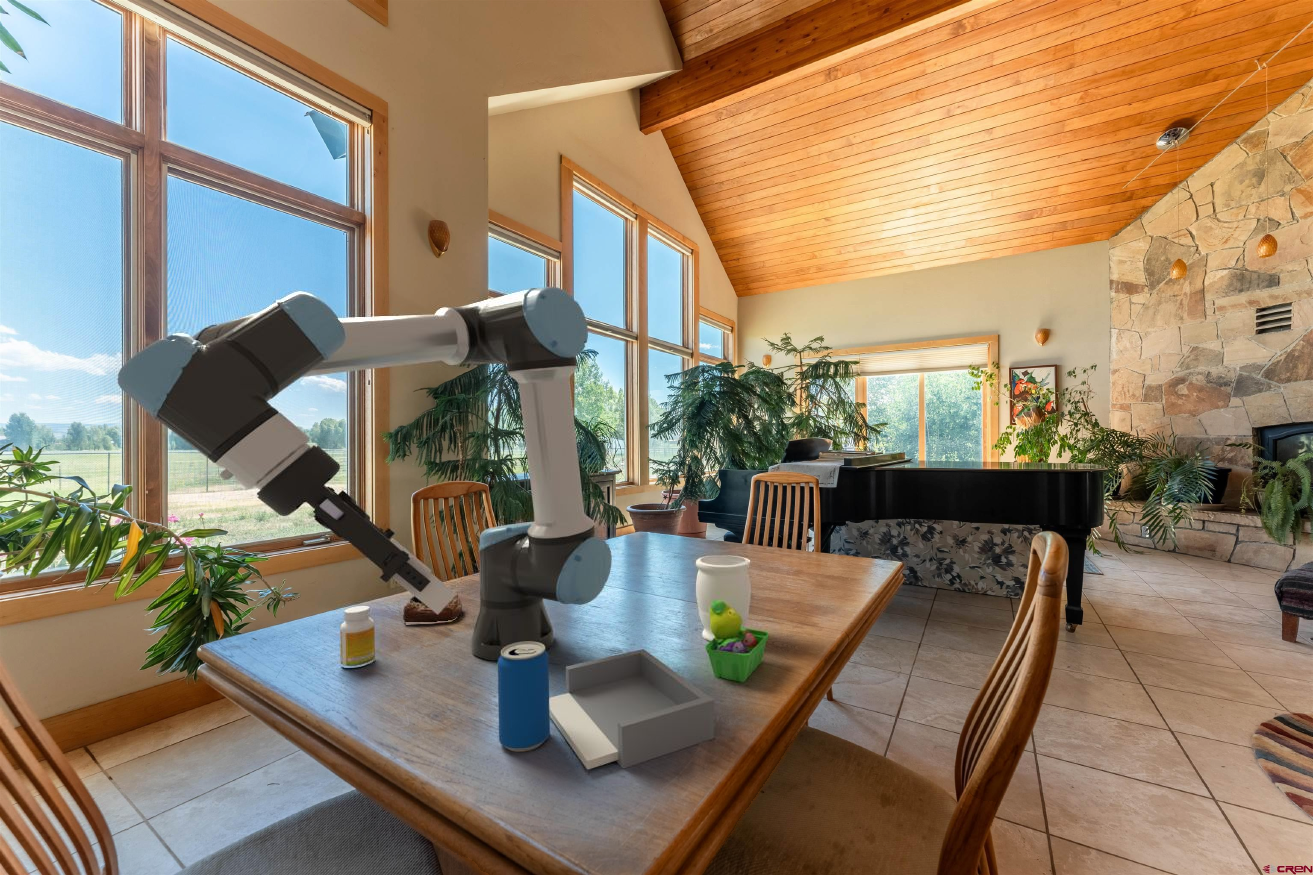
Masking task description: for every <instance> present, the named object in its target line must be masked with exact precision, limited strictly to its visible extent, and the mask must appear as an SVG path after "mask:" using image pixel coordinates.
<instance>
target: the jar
mask: <svg viewBox="0 0 1313 875" xmlns="http://www.w3.org/2000/svg"><path fill="white" fill-rule="evenodd" d="M695 566H696V567H697V568H698V572H697V574H696V581H695V582H696V584H695V595H696V596H695V597H696V602H697V607H698V614H699V618H700V620H701V623H702V625H703V627H704V629H703V630H702V632H701V635H702V638H704V639H705V640H707V641H709V642H710V641H712V640H713V639H714V638H715V636H714V635H713V633H712V631H711V628H710V613H709V611H710V608H711V605H712V603H713V601H719V600H721V601H723V602H725V603H726V604H727V605H729V606H730V607H731V608H732V609H733V610H735V611H736V612H737V613H738V614H739V615H740V616H741V618H742V624H741V627H742V628H745V626H746V624H747V622H748V617H749V612H750V603H751V595H752V594H751V593H752V592H751V590H752V589H751V580H750V576H749V570H748V569H749V568H750V566H751V560H750V559H748V558H746V557H744V556H738V555H726V554H725V555H724V554H722V555H721V554H719V555H715V554H714V555H707V556H700V557H699V558H697V559H696V561H695Z"/></svg>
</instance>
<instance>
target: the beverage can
mask: <svg viewBox="0 0 1313 875" xmlns="http://www.w3.org/2000/svg"><path fill="white" fill-rule="evenodd" d="M549 661H550V659H549V654H548V651H547V650H545V646H544V645H543V644H541V643H539V642H531V641H527V642H518V643H514V644H510V645H508V646H506V647H504V648H503V649H502V650H501V656H500V658H499V659H498V661H497V698H498V702H497V703H498V740H499V744H501V745H502V746H503V747H504V748H506V749H508V750H510V751H512V752H516V753H517V752H521V753H522V752H528V751H532V750H535V749H536V748H538V747H540V746H542V744H543V743H544V742H545V741H546V740H547V739H549V736H550V732H551V731H550V730H551V728H550V726H551V724H550V723H551V721H550V719H551V717H550V712H549V698H550V668H549V664H550V663H549Z"/></svg>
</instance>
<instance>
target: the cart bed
mask: <svg viewBox="0 0 1313 875" xmlns="http://www.w3.org/2000/svg"><path fill="white" fill-rule="evenodd" d="M549 712H550V719H551V720H552V722H553V724H555V726H556V727H557V729H558V730H559V731H560V733H561V735H563V737H564V739H565V740H566V741H567V743H568V744H569V746H570V747H571V749H572V750H573V752H575V754H576V755H577V757H578V759H579V760H580V761H581V763H582V764H583V765H584V767H585V769H586V770H591V769H594V768H597V767H600V766H603V765H605V764H609V763H611V762H612V763H613V762H615V761H616V762H617V763H618V766H620V768H622V770H624V769H626V768H630V767H632V766H636V765H639V764H641V763H644V762H648V761H650V760H653V759H656V758H659V757H663V756H666V755H669V754H672V753H675V752H677V751H681V750H683V749H686V748H689V747H693V746H695V745H698V744H701V743H703V742H707V741H710V740H712V739H715V700H714V698H712V697H711V696H709V695H708V694H706V693H705V692H704V691H703V690H701V689H699V688H698V687H697V686H695V685H694V684H693V683H691V682H690V681H688V680H687V679H686V678H684V677H683V676H681V675H680V674H679V673H677V672H676V671H674V670H673V669H671V667H669V666H667V664H665V663H663V661H661V660H659V659H658V658H657V657H655V656H654V655H652V654H651V653H650V652H648V651H647V650H646V649H645V648H642V649H638V650H633V651H629V652H624V653H619V654H616V655H612V656H607V657H601V658H598V659H594V660H590V661H589V660H588V661H586V662H585V661H583V662H580V663H575V664H572V665H567V666H565V693H563V694H560V695H555V696H550V697H549Z"/></svg>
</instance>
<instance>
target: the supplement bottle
mask: <svg viewBox="0 0 1313 875" xmlns="http://www.w3.org/2000/svg"><path fill="white" fill-rule="evenodd" d="M370 608H371V607H370V606H368V605H357V606H352V607H349V608H346V609H345V610H344V613H343V615H344V616H343V618H344V620H345V621H344V622H342V623H341V625H340V628H339V629H340V630H339V637H340V638H339V644H340V665H341V664H342V665H343V666H357V665H362V664H365V663H368V662H370V661H372V660H374V659H376V642H375V641H376V640H375V639H376V638H375V621H374V620H373V618H371V617H370V615H371V611H370V610H371V609H370ZM374 661H375V660H374Z"/></svg>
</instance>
